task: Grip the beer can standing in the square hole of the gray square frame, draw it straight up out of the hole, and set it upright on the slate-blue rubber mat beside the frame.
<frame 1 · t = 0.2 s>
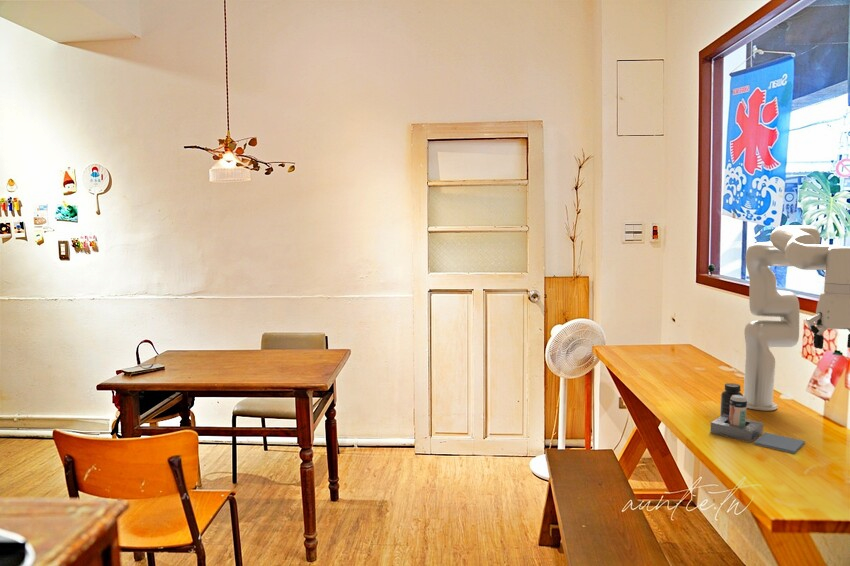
hand: (835, 348, 181), 31 cm above the table, tool pointing down, fingers open, 9 cm apart
gray square frame: (736, 433, 199), on the table
supplement bottle: (730, 419, 213), on the table
mat: (779, 443, 190), on the table
beer can: (736, 433, 199), resting in gray square frame
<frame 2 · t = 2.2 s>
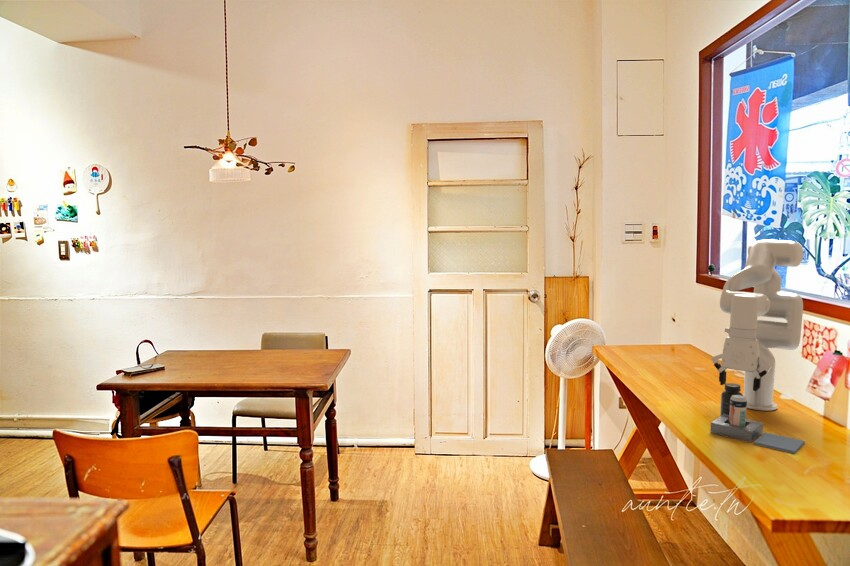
hand: (739, 387, 197), 15 cm above the table, tool pointing down, fingers open, 9 cm apart
nothing on the table moved.
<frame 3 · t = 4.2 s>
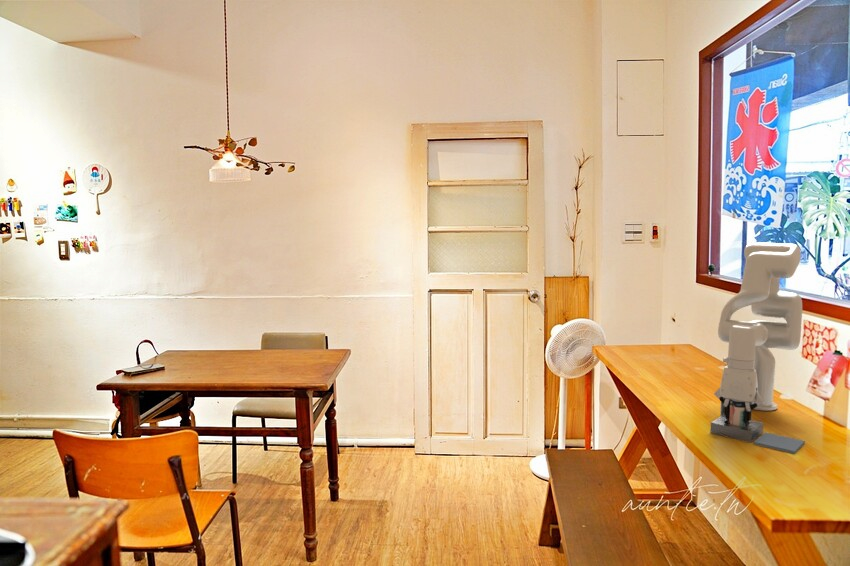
hand: (737, 419, 199), 4 cm above the table, tool pointing down, fingers closed on beer can, 4 cm apart
beer can: (736, 433, 199), resting in gray square frame, touching gripper
everything else where it was.
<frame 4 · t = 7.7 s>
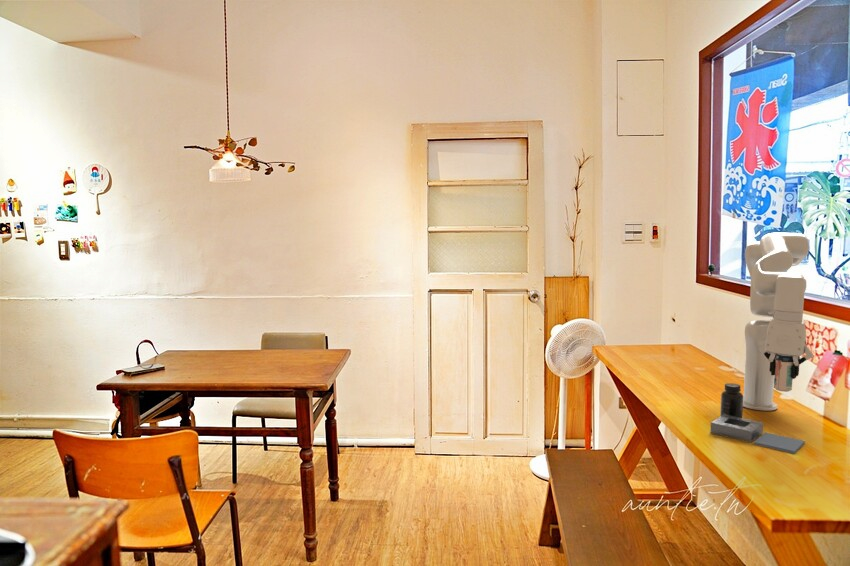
hand: (783, 375, 188), 21 cm above the table, tool pointing down, fingers closed on beer can, 4 cm apart
beer can: (782, 390, 188), point 17 cm above the table, touching gripper
everything else where it was.
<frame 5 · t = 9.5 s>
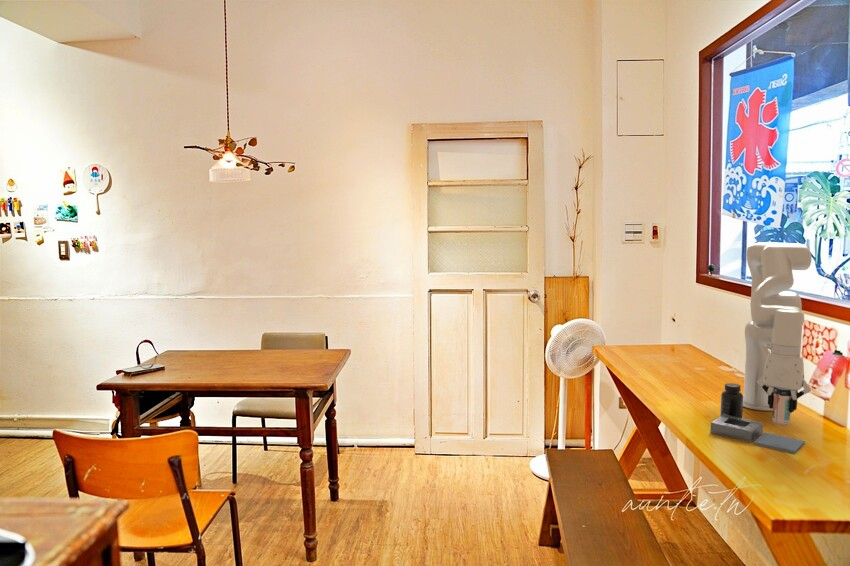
hand: (781, 409, 189), 11 cm above the table, tool pointing down, fingers closed on beer can, 4 cm apart
beer can: (780, 423, 189), point 6 cm above the table, touching gripper
everything else where it was.
when the fingers open (6 cm above the table, at t = 11.2 s): beer can stays where it is, resting on mat.
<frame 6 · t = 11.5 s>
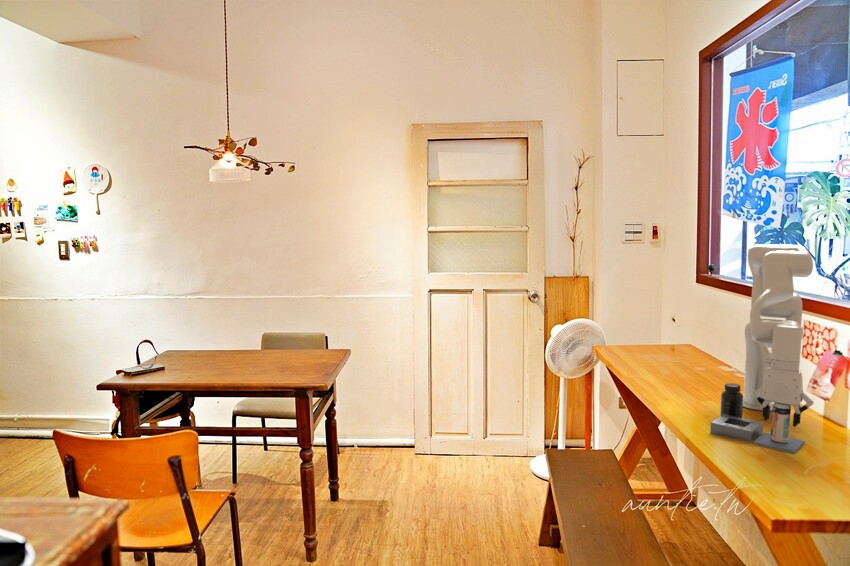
hand: (780, 422, 189), 7 cm above the table, tool pointing down, fingers open, 7 cm apart
beer can: (779, 441, 190), point 1 cm above the table, touching mat
everything else where it was.
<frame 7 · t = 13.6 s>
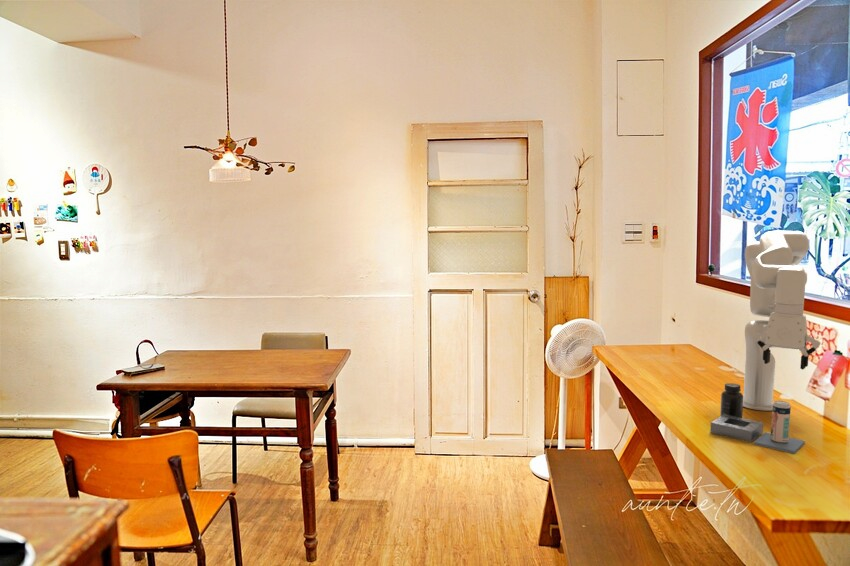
hand: (784, 365, 187), 24 cm above the table, tool pointing down, fingers open, 9 cm apart
nothing on the table moved.
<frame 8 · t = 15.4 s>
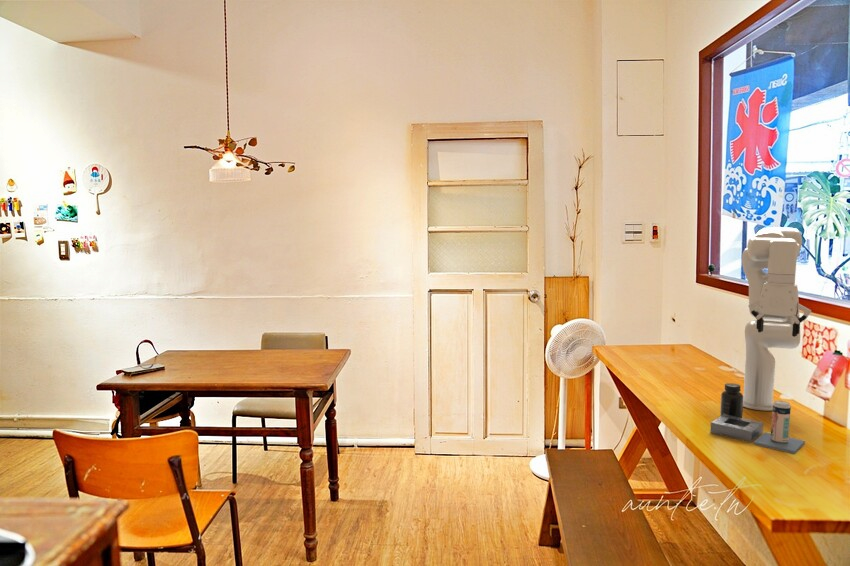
hand: (777, 333, 195), 32 cm above the table, tool pointing down, fingers open, 9 cm apart
nothing on the table moved.
at the end: beer can inside the target area on the mat (0.1 cm from its centre), point 0.6 cm above the mat's base; beer can tilted 0°; the gripper is holding nothing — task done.
